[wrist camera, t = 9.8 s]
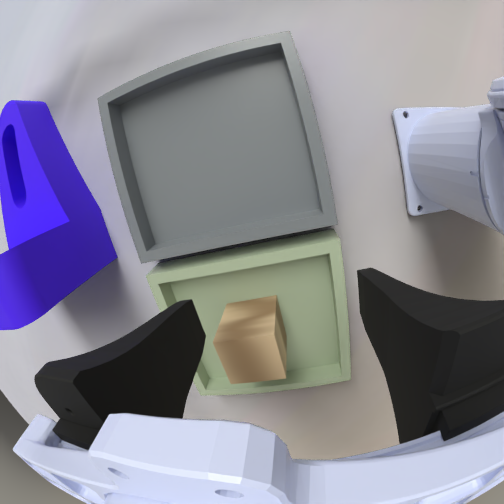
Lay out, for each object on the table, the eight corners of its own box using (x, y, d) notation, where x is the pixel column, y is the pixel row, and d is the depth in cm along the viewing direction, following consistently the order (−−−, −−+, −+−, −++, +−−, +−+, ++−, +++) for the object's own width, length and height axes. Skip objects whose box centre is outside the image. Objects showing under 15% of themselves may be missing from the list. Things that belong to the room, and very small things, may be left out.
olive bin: (333, 229, 20) (339, 239, 17) (346, 361, 24) (350, 379, 21) (158, 263, 22) (145, 275, 20) (206, 378, 26) (200, 395, 24)
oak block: (276, 294, 21) (274, 334, 16) (286, 335, 22) (286, 378, 17) (226, 303, 22) (212, 342, 17) (240, 342, 23) (230, 384, 18)
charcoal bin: (289, 44, 15) (290, 31, 13) (331, 215, 19) (337, 224, 17) (115, 101, 18) (97, 98, 15) (154, 252, 22) (141, 263, 19)
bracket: (118, 256, 22) (27, 328, 11) (51, 276, 24) (-22, 330, 13) (71, 76, 17) (-28, 62, 6) (11, 129, 19) (-70, 140, 8)
